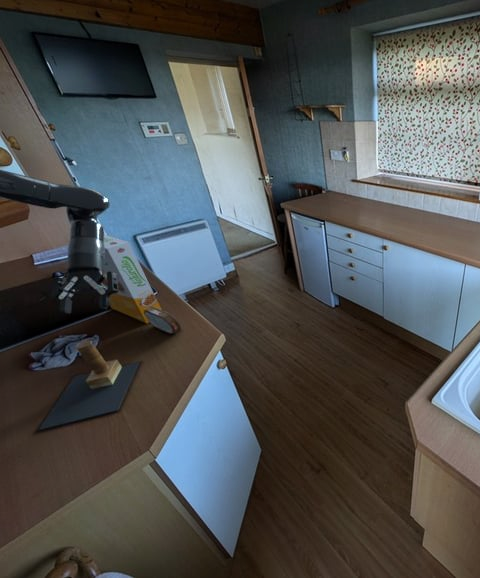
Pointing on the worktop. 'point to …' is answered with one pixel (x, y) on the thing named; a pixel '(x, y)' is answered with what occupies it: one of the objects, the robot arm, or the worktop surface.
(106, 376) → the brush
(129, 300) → the cereal box
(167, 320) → the tin
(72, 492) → the worktop surface
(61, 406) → the mat
